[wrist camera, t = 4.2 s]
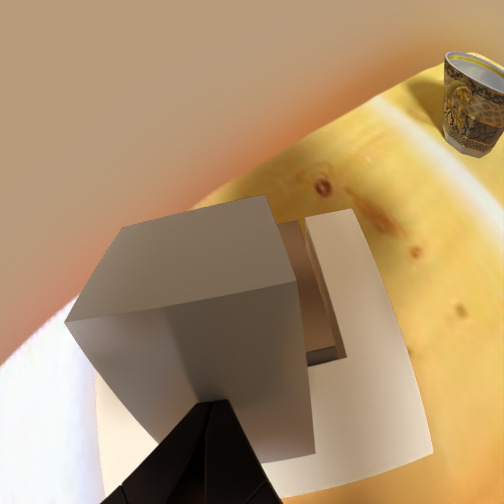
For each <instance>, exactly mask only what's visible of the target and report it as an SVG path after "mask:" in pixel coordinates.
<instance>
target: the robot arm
mask: <svg viewBox="0 0 504 504" xmlns="http://www.w3.org/2000/svg"><path fill="white" fill-rule="evenodd" d="M121 484H122V485H119V486H118V487H117V488H116V489H115V490H114V491H113V492H112V493H111V494H110V495H109V496H108V497H106V498H105V499H104V500H103V501H102V502H101V503H100V504H283V502H282V501H281V499H280V497H279V496H278V494H277V493H276V491H275V489H274V487H273V485H272V484H271V482H270V481H269V478H268V477H267V475H266V473H265V471H264V469H263V467H262V465H261V463H260V462H259V460H258V458H257V456H256V454H255V452H254V450H253V448H252V446H251V444H250V442H249V440H248V438H247V436H246V434H245V432H244V430H243V428H242V426H241V424H240V422H239V420H238V418H237V416H236V413H235V411H234V409H233V407H232V405H231V403H230V401H229V400H228V399H223V400H216V401H214V402H213V403H212V402H210V401H207V402H199V403H196V404H195V405H194V406H193V407H192V408H191V409H190V411H189V412H188V413H187V414H186V415H185V416H184V417H183V418H182V419H181V421H180V422H179V423H178V424H177V425H176V426H175V427H174V428H173V429H172V430H171V432H170V433H169V434H168V435H167V436H166V437H165V438H164V439H163V440H162V441H161V442H160V443H159V444H158V446H157V447H156V448H155V449H154V450H153V451H152V452H151V453H150V454H149V455H148V456H147V457H146V458H145V459H144V460H143V461H142V462H141V463H140V465H139V466H138V467H137V468H136V469H135V470H134V471H133V472H132V473H131V474H130V475H129V476H128V477H127V478H126V479H125V480H124V481H123V482H122V483H121Z"/></svg>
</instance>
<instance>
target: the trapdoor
mask: <svg viewBox="0 0 504 504" xmlns="http://www.w3.org/2000/svg"><path fill="white" fill-rule="evenodd" d="M277 227H278V230H279V233H280V236H281V238H282V241H283V244H284V247H285V249H286V252H287V255H288V258H289V260H290V263H291V266H292V269H293V272H294V274H295V277H296V280H297V287H298V294H299V302H300V309H301V317H302V325H303V333H304V342H305V350H306V359H307V367H308V366H313V365H317V364H321V363H325V362H329V361H333V360H337V359H338V353H337V349H336V346H335V341H334V338H333V334H332V331H331V327H330V324H329V320H328V317H327V313H326V310H325V306H324V303H323V300H322V296H321V293H320V290H319V286H318V283H317V280H316V276H315V273H314V270H313V267H312V264H311V260H310V257H309V254H308V251H307V248H306V245H305V242H304V239H303V235H302V232H301V229H300V226H299V223H298V220H297V221H292V222H287V223H282V224H277Z"/></svg>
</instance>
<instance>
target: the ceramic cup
mask: <svg viewBox="0 0 504 504" xmlns="http://www.w3.org/2000/svg"><path fill="white" fill-rule="evenodd" d="M444 85H445V95H444V114H443V131H444V135H445V139H446V141H447V142H448V143H449V144H451V145H452V146H453V147H454V148H455V149H457V150H458V151H459V152H460V153H463V154H466V155H470V156H473V157H476V158H481V157H483V156H484V155H486V154H488V153H489V152H490V151H491V150H492V148H493V147H494V146H495V144H496V142H497V141H498V139H499V138H500V136H501V135H502V133H503V132H504V70H502V69H500V68H499V67H497V66H495V65H494V64H492V63H490V62H488V61H485V60H483V59H481V58H478V57H476V56H473V55H469V54H465V53H460V52H449V53H447V54H446V55H445V63H444Z"/></svg>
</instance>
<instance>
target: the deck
mask: <svg viewBox="0 0 504 504" xmlns="http://www.w3.org/2000/svg"><path fill="white" fill-rule="evenodd" d="M305 245H306V248H307V251H308V254H309V257H310V260H311V264H312V267H313V270H314V273H315V276H316V280H317V283H318V286H319V290H320V293H321V296H322V300H323V303H324V306H325V310H326V313H327V317H328V320H329V324H330V327H331V331H332V334H333V338H334V341H335V346H336V349H337V353H338V359H337V360H333V361H329V362H328V363H324V364H320V365H316V366H311V367H307V368H308V377H309V387H310V397H311V407H312V417H313V429H314V440H315V452H316V454H312V455H308V456H303V457H298V458H293V459H288V460H282V461H276V462H270V463H263V464H261V465H262V467H263V469H264V471H265V473H266V475H267V477H268V478H269V481H270V482H271V484H272V485H273V487H274V489H275V491H276V493H277V494H278V496H279V497H280V498H285V497H291V496H297V495H302V494H307V493H312V492H317V491H321V490H325V489H330V488H334V487H338V486H341V485H345V484H349V483H352V482H356V481H359V480H363V479H366V478H369V477H372V476H375V475H378V474H381V473H384V472H387V471H390V470H393V469H395V468H398V467H401V466H403V465H406V464H408V463H411V462H413V461H416V460H418V459H421V458H423V457H425V456H428V455H430V454H432V453H434V451H433V446H432V442H431V437H430V432H429V428H428V424H427V420H426V415H425V411H424V407H423V403H422V400H421V396H420V392H419V388H418V385H417V381H416V378H415V374H414V371H413V367H412V364H411V361H410V357H409V354H408V351H407V348H406V345H405V342H404V338H403V335H402V332H401V329H400V326H399V324H398V321H397V318H396V315H395V312H394V309H393V306H392V304H391V301H390V298H389V296H388V293H387V290H386V288H385V285H384V282H383V280H382V277H381V275H380V272H379V270H378V267H377V265H376V262H375V260H374V257H373V255H372V252H371V250H370V248H369V245H368V243H367V241H366V238H365V236H364V234H363V231H362V229H361V227H360V224H359V222H358V220H357V218H356V216H355V213H354V211H353V209H352V208H351V209H346V210H340V211H335V212H330V213H325V214H320V215H315V216H310V217H305ZM96 410H97V427H98V440H99V451H100V461H101V469H102V477H103V484H104V490H105V497H108V496H109V495H110V494H111V493H112V492H113V491H114V490H115V489H116V488H117V487H118V486H119V485H122V484H121V483H122V482H123V481H124V480H125V479H126V478H127V477H128V476H129V475H130V474H131V473H132V472H133V471H134V470H135V469H136V468H137V467H138V466H139V465H140V463H141V462H142V461H143V460H144V459H145V458H146V457H147V456H148V455H149V454H150V453H151V452H152V451H153V450H154V449H155V448H156V447H157V446H158V443H157V442H156V441H155V440H154V439H153V438H152V437H151V436H150V435H149V434H148V432H147V431H146V430H145V429H144V428H143V427H142V426H141V425H140V424H139V422H138V421H137V420H136V419H135V418H134V417H133V416H132V414H131V413H130V412H129V411H128V410H127V409H126V407H125V406H124V405H123V404H122V403H121V401H120V400H119V399H118V398H117V396H116V395H115V394H114V393H113V391H112V390H111V389H110V388H109V386H108V385H107V384H106V382H105V381H104V380H103V378H102V377H101V376H100V374H99V373H98V372H97V370H96Z"/></svg>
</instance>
